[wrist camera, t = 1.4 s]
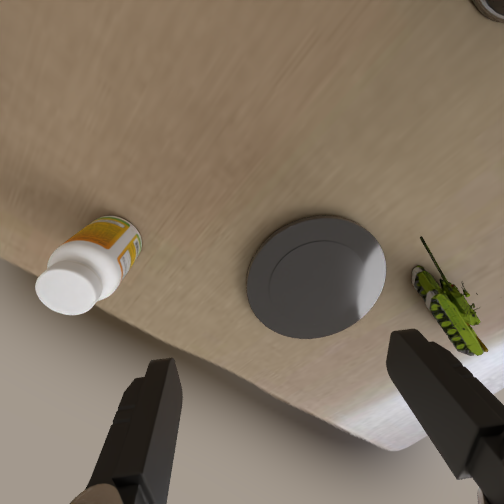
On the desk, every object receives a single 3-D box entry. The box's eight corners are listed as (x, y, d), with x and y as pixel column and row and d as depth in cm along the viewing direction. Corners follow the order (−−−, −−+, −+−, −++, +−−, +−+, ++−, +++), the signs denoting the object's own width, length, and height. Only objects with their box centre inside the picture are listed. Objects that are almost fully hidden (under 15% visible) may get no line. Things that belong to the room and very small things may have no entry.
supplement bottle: (75, 231, 27) (4, 283, 19) (118, 204, 27) (64, 245, 18) (113, 271, 30) (65, 334, 21) (153, 247, 29) (121, 302, 20)
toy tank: (453, 375, 33) (552, 345, 29) (379, 276, 26) (497, 218, 22) (427, 329, 39) (506, 299, 35) (361, 239, 32) (451, 188, 28)
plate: (218, 292, 32) (217, 298, 31) (313, 183, 27) (317, 185, 26) (314, 350, 37) (317, 357, 36) (408, 267, 32) (414, 272, 31)
